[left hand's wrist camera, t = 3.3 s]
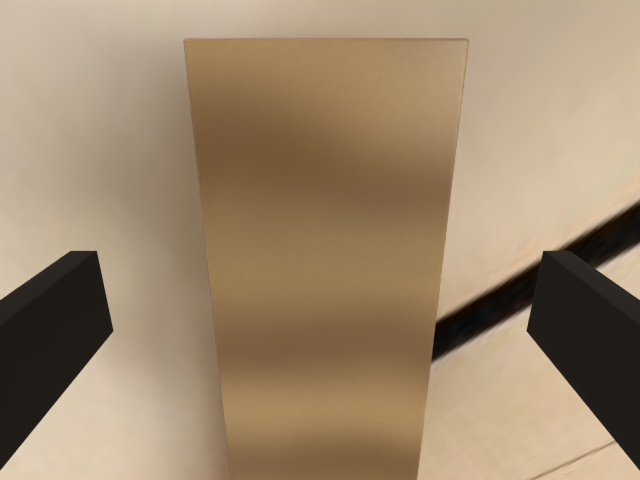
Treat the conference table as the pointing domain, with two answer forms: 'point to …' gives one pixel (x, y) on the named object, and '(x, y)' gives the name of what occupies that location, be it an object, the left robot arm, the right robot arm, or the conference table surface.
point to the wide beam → (325, 243)
